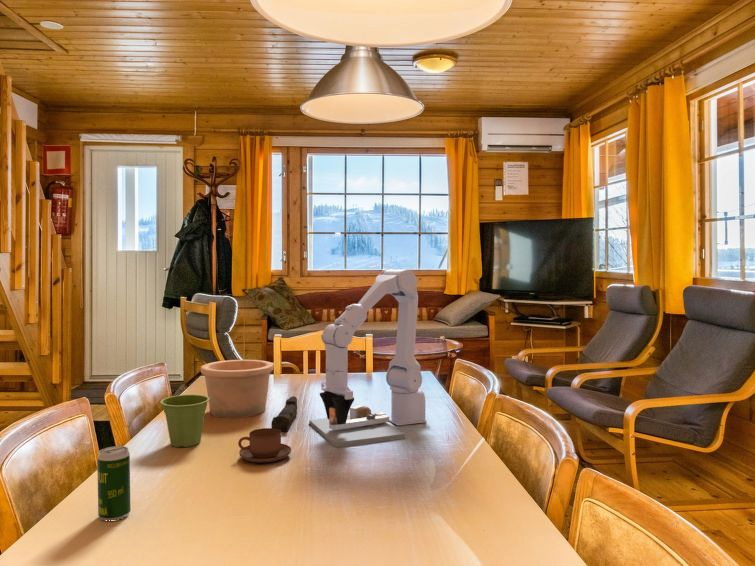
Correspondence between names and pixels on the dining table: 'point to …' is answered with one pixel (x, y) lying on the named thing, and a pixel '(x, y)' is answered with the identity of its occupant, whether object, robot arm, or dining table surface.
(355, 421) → the lever
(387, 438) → the flat white platform
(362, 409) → the brown sphere
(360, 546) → the dining table surface
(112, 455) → the beer can
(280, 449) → the cup and saucer
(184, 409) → the plant pot
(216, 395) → the pottery
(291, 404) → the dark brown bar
